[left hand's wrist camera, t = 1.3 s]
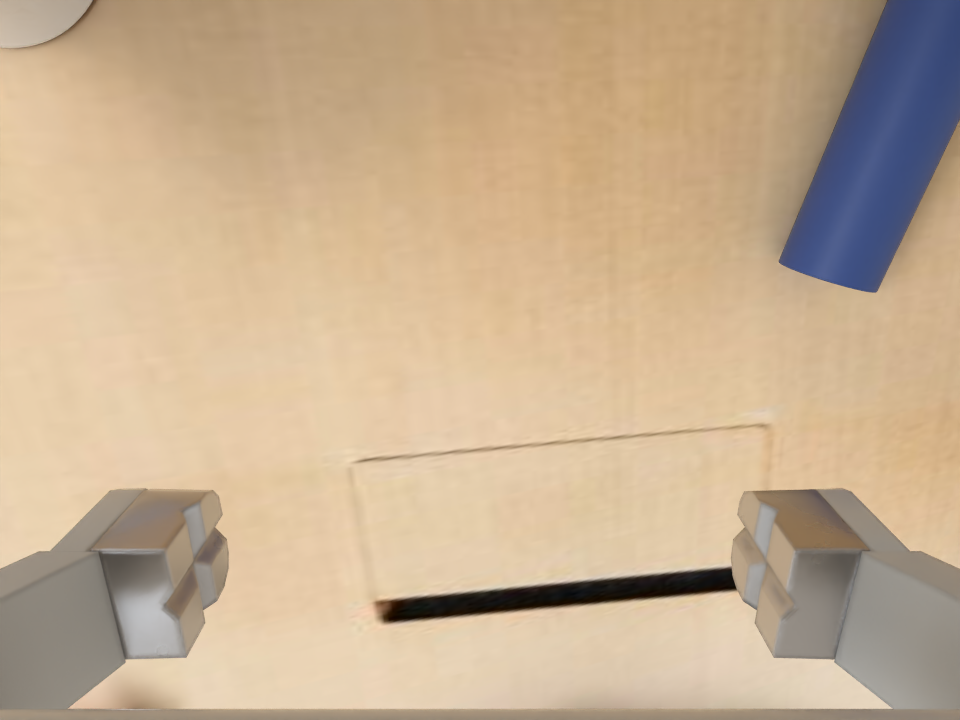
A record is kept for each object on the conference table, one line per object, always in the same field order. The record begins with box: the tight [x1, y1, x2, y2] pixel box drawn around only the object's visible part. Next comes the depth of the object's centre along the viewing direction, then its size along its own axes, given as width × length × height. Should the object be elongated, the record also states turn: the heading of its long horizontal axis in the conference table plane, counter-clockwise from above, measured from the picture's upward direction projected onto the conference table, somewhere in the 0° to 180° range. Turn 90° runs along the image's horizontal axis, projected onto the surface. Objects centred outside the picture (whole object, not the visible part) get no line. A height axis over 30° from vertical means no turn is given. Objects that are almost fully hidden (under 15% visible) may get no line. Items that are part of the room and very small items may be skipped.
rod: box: [779, 0, 960, 292], centre depth 38 cm, size 23×6×6 cm, turn 166°
